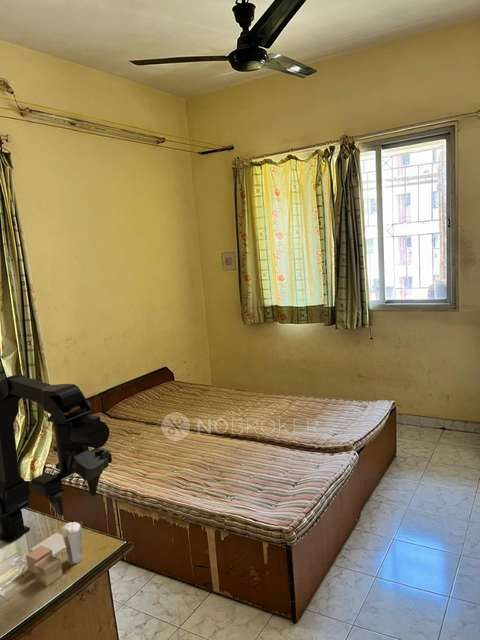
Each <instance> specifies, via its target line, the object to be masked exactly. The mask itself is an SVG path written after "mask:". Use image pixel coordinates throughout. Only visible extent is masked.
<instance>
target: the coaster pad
mask: <svg viewBox="0 0 480 640" xmlns="http://www.w3.org/2000/svg"><path fill="white" fill-rule="evenodd" d="M39 546H44V547H46V548H49V549H51V550H52V555H53V556H54V557H56V558H57V556H60V554H62V553H63V552H65V547H64V543H63V539H62V535H61V533H58V532H55V533H54V534H52V535H50V536H49V537H47V538H45V539H44V540H42V541H41V542H39V543H38V544H36V545H35V546H33V547H31V548H30V552H32V551H33V550H35V549H36V548H38V547H39Z"/></svg>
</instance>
